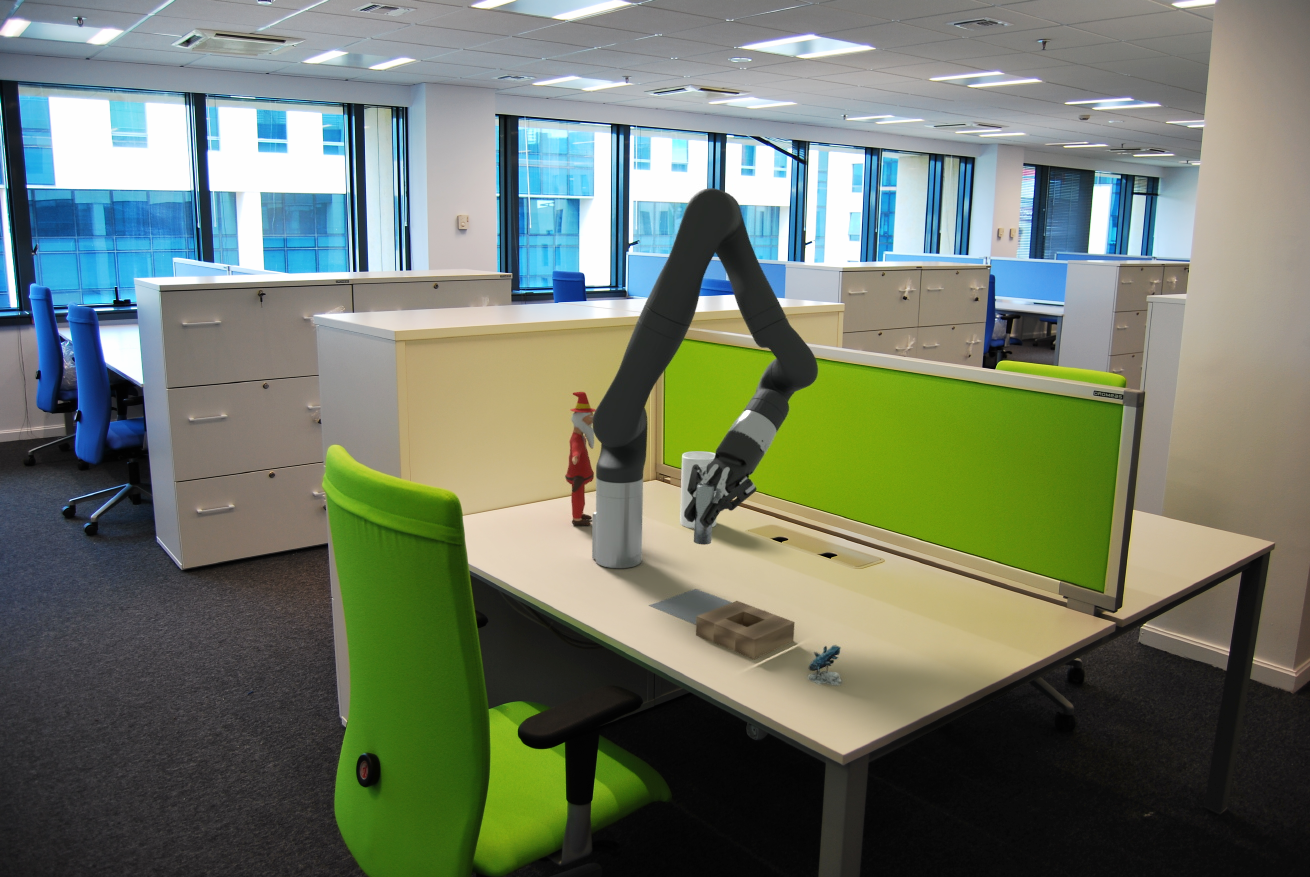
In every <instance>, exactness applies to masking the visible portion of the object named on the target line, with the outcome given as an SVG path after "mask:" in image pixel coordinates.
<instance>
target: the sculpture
mask: <svg viewBox="0 0 1310 877" xmlns="http://www.w3.org/2000/svg"><path fill="white" fill-rule="evenodd" d="M822 650H823V651H822V653H819V652H818V651H815V650H814V652H813V655H814V656H815V657H814V659H813V660H812V661H811V663H810V664H809V666H808V669H809V671H811V673H810V674H809V675H807V680H808V681H812V682H813V683H815V684H817V685H823V684H829V685H831V686H841V684H842V678H840V674H839V673H838V672H836V671H829V667H831V666H832V665H833V664H834V662H835V660H838V659H839V657H838V656H839V655H840V654H841V647H840V646H838V645H837V644H833V645H832V646H831V647H830V648H828V647H827V645H825V646H824V647H823V649H822ZM822 669H826V670H822ZM820 670H822V671H820ZM815 671H816V672H815Z"/></svg>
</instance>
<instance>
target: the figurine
mask: <svg viewBox="0 0 1310 877" xmlns="http://www.w3.org/2000/svg"><path fill="white" fill-rule="evenodd" d="M572 395H573V396H575V397H577V400H576V401H577V402H576V405H575V407H574V408H571V409H570V411H571V412H573V413H572V415H571V419H570V421H571V422H572V424H573V430H572V433H571V437H570V439H569V455H568V466H567V469H566V470H567V471H566V473H565V475H564V478H565V480H566V483H568V484H569V485H571V514H572V516H571V517H572V521H571V524H572V525H573V526H590V525H591V521H590V520H593V516H591V515H589V514H585V513H584V509H585V506H586V496H585V494H586V493H585V492H586V491H585V490H586V489H585V488H586V487H585V486H586V485H587V484H589V483H590V482H591V483H592V482H593V480H594V478H595V473H594V470H593V468H592V464H591V460H590V456H589V452H588V448H587V444H588V447H589V448H590V449H591V450H593V449H594V446H595V434H594V431H593V416H594V413H595V411H596V409H595V408H592V407H591V406H590V402H589V399H588V396H587V394H586V392H585V391H576V392H572Z"/></svg>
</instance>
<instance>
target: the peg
mask: <svg viewBox="0 0 1310 877" xmlns="http://www.w3.org/2000/svg"><path fill="white" fill-rule="evenodd" d="M714 488H715V486H714V485H713V484H709V483H699V484H697V491H696V509H695V526H694V530H693V543H694V544H698V545H701V546H703V545H710V544H711V543H712V535H713V534H712V532H713V527H712V524H711V525H710V526H709V527H708V528H707V527H704V526H703V525H702V524H701V523H700V518H701V516H702V515H703V513H704V512H705V510H706V509H707V507H708V505H709V504H710V503H712V504H713V499H714Z"/></svg>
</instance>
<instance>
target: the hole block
mask: <svg viewBox="0 0 1310 877" xmlns="http://www.w3.org/2000/svg"><path fill="white" fill-rule="evenodd" d="M731 602H732V603H730V604H727V605H725V606H722V607H719V608H717V609H714V610H712V611H709V612H706V613H704V614H701V615H699V616H697V621H696V625H695V636H698V637H699V638H702V639H704V640H707V641H709V642H712V643H713V644H716V645H718V646H720V647H723V648H725V649H728V650H731V651H732V652H736V653H737V654H740V655H742V656H745V657H746V658H749V659H752V660H756V659H757V658H760V657H762V656H765V655H766V654H769V653H771V652H773V651H775V650H777V649H780V648H781V647H783V646H787V645H788V644H790V643H792V642H794V641H795V640H794V639H795V638H794V637H795V621H793V620H790V619H788V618H785V617H783V616H782V617H781V616H780V615H777V614H773V613H771V612H768V611H766V610H763V609H761V608H758V607H755V606H752V605H750V604H747V603H744V602H741V601H739V600H735V601H734V602H733V601H731Z"/></svg>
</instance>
